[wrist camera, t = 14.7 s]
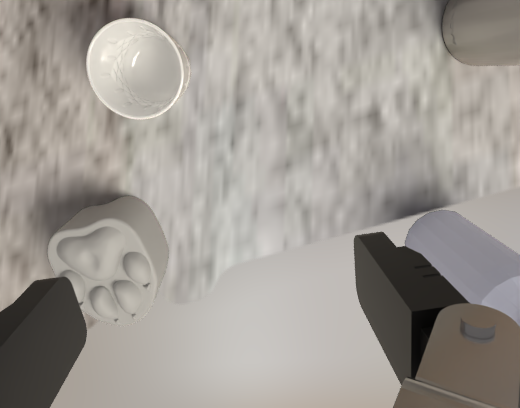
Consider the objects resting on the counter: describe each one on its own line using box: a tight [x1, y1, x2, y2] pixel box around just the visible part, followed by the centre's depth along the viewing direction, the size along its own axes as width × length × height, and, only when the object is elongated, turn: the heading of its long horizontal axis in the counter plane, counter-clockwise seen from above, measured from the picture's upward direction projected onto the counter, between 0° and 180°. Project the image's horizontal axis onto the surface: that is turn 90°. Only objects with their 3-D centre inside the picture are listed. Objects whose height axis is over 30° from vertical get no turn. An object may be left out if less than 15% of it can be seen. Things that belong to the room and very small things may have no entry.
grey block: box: [47, 196, 169, 326], centre depth 43 cm, size 10×13×9 cm
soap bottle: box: [405, 210, 520, 327], centre depth 38 cm, size 9×9×24 cm
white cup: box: [86, 18, 191, 119], centre depth 36 cm, size 8×8×10 cm
